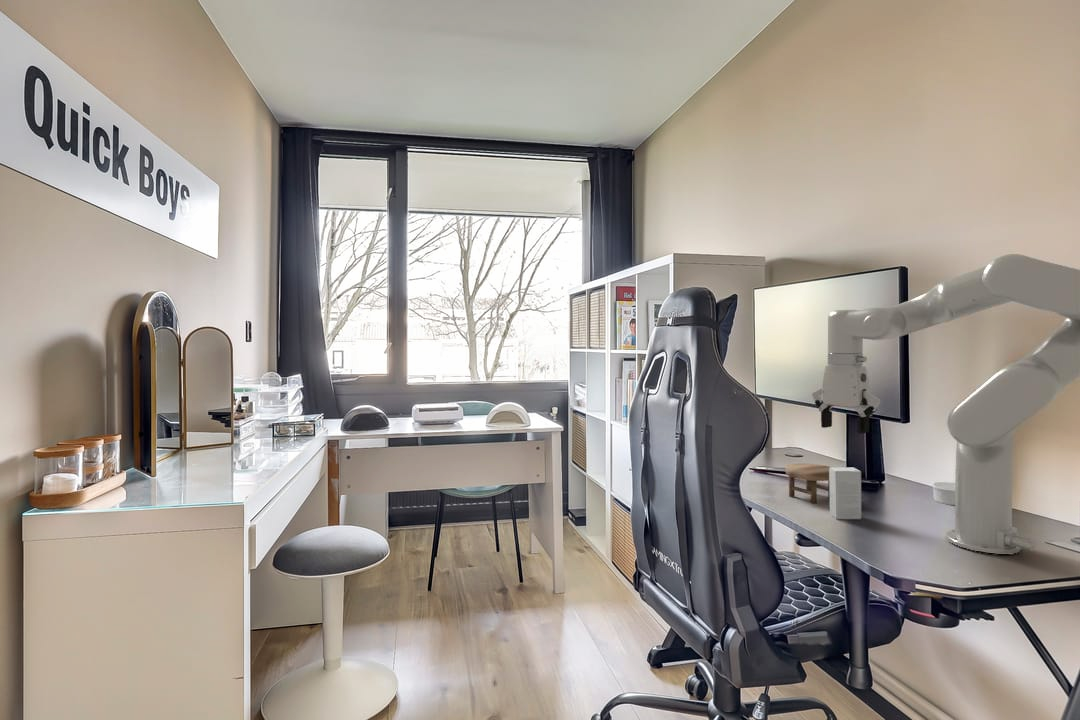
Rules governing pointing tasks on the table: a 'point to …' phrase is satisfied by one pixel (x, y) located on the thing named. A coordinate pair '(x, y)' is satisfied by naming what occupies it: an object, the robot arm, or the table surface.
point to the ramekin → (944, 492)
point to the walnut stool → (808, 479)
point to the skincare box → (845, 493)
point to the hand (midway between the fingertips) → (844, 429)
